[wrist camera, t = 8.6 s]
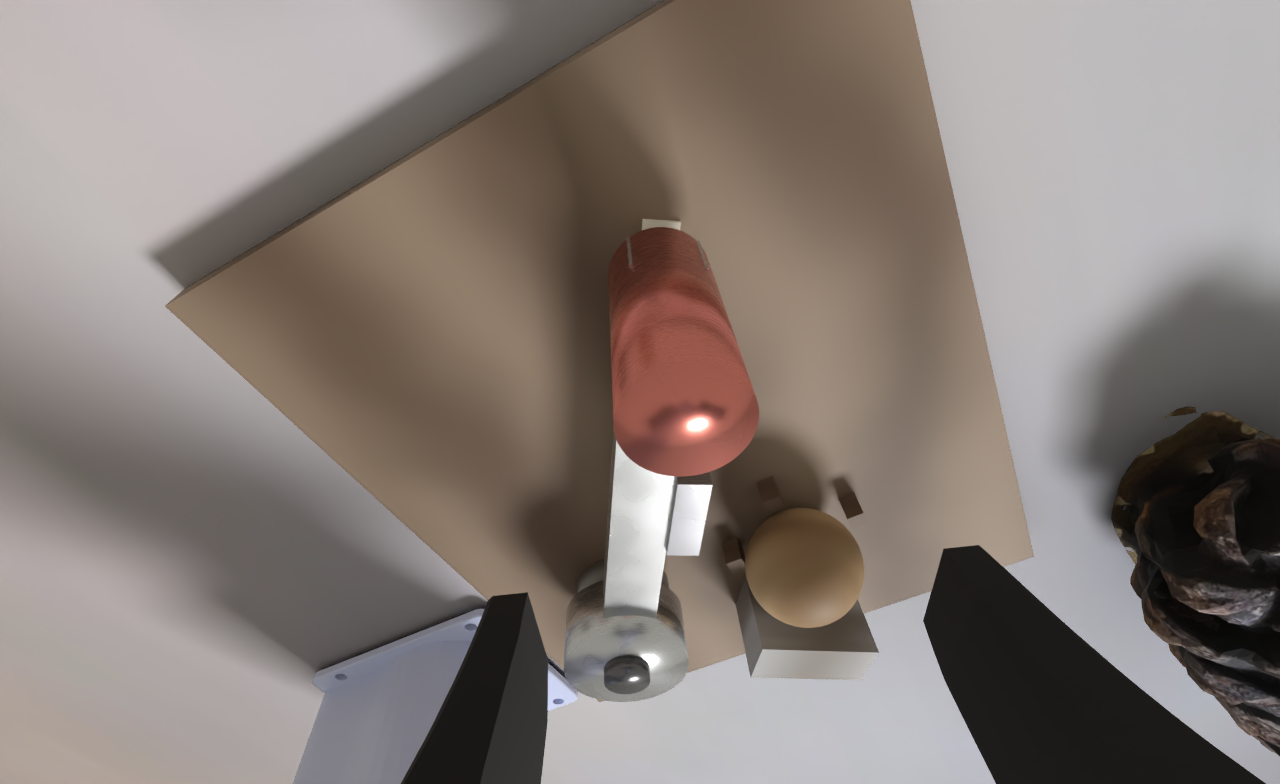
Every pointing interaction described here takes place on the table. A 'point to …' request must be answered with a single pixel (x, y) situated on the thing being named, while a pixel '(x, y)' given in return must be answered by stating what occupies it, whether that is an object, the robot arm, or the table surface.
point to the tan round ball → (804, 567)
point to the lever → (657, 461)
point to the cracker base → (580, 322)
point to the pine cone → (1212, 560)
